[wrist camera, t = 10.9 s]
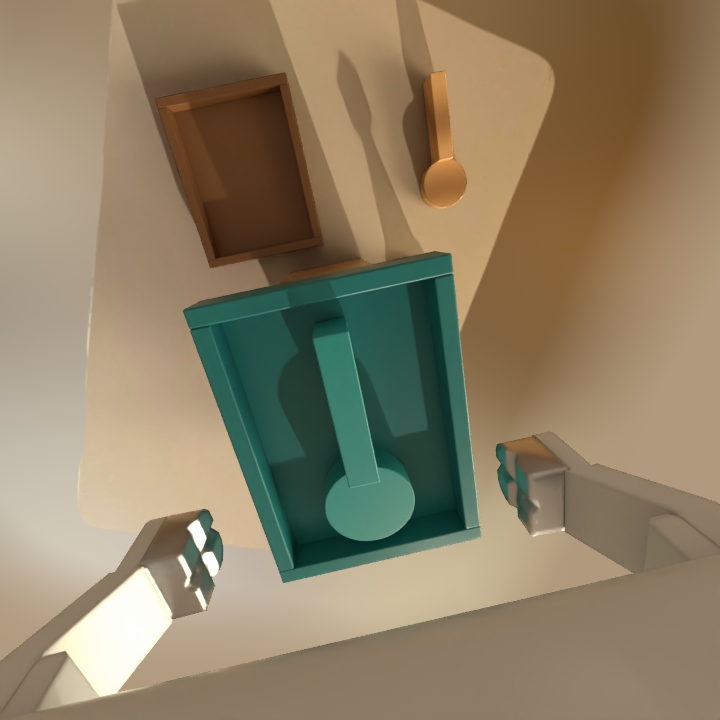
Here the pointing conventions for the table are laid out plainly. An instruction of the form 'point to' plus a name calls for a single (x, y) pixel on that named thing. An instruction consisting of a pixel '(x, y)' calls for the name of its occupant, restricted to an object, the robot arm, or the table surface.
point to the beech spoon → (440, 148)
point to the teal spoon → (357, 449)
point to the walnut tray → (243, 168)
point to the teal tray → (312, 414)
